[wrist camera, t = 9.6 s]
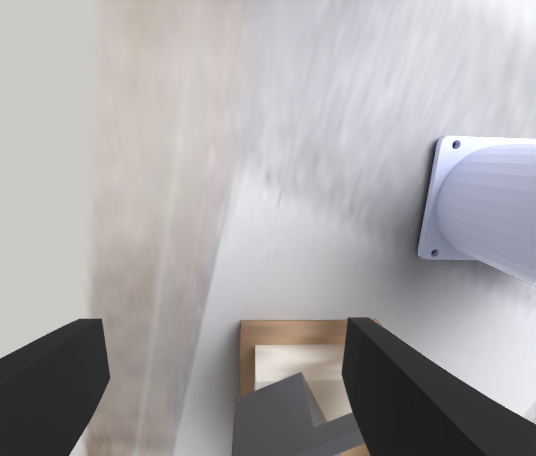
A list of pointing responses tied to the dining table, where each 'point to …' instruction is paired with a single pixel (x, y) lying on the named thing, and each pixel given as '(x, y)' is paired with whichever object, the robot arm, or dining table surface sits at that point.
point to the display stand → (298, 361)
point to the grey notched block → (289, 423)
